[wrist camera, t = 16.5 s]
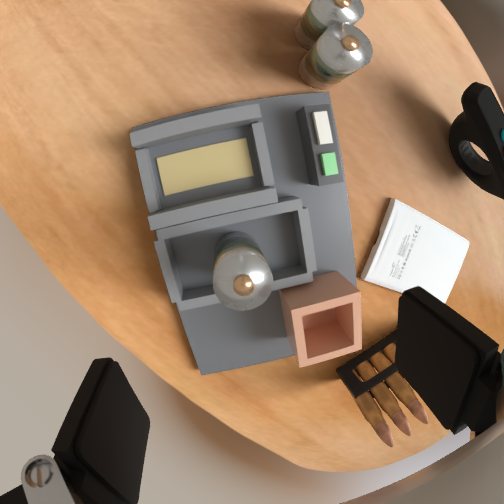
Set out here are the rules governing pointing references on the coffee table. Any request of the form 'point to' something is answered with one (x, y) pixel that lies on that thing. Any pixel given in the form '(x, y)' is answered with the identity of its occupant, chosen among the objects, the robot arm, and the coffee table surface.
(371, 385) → the ammunition clip
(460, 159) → the controller
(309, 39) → the cell
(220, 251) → the cell
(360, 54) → the cell
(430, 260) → the external hard drive
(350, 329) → the pink hollow box
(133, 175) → the coffee table surface
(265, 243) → the board
